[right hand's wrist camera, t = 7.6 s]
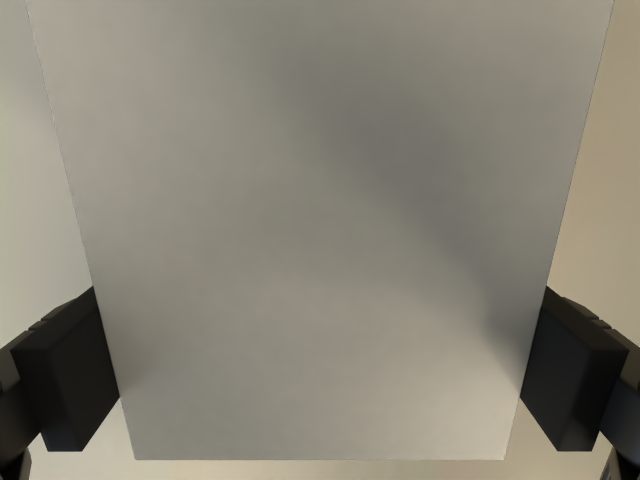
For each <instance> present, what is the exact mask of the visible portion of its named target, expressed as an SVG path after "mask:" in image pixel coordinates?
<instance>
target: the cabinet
mask: <svg viewBox="0 0 640 480" xmlns="http://www.w3.org/2000/svg"><path fill="white" fill-rule="evenodd" d="M25 3H26V7H27V12H28V16H29V20H30V24H31V28H32V32H33V37H34V41H35V45H36V49H37V53H38V57H39V62H40V66H41V70H42V74H43V78H44V82H45V87H46V91H47V95H48V99H49V103H50V107H51V112H52V116H53V120H54V124H55V128H56V132H57V137H58V141H59V145H60V149H61V153H62V157H63V162H64V166H65V170H66V174H67V178H68V182H69V187H70V191H71V195H72V199H73V203H74V207H75V212H76V216H77V220H78V224H79V228H80V232H81V237H82V241H83V245H84V249H85V253H86V257H87V262H88V266H89V270H90V274H91V278H92V282H93V287H94V291H95V295H96V299H97V303H98V307H99V312H100V316H101V320H102V324H103V328H104V332H105V337H106V341H107V345H108V349H109V353H110V357H111V362H112V366H113V370H114V374H115V378H116V382H117V387H118V391H119V395H120V399H121V403H122V407H123V412H124V416H125V420H126V424H127V428H128V432H129V436H130V441H131V445H132V449H133V453H134V457H135V460H504V459H505V455H506V451H507V447H508V443H509V439H510V434H511V430H512V426H513V422H514V418H515V413H516V409H517V405H518V401H519V397H520V393H521V388H522V384H523V380H524V376H525V372H526V368H527V363H528V359H529V355H530V351H531V347H532V343H533V338H534V334H535V330H536V326H537V322H538V317H539V313H540V309H541V305H542V301H543V297H544V292H545V288H546V284H547V280H548V276H549V272H550V267H551V263H552V259H553V255H554V251H555V247H556V242H557V238H558V234H559V230H560V226H561V221H562V217H563V213H564V209H565V205H566V201H567V196H568V192H569V188H570V184H571V180H572V176H573V171H574V167H575V163H576V159H577V155H578V151H579V146H580V142H581V138H582V134H583V130H584V125H585V121H586V117H587V113H588V109H589V105H590V100H591V96H592V92H593V88H594V84H595V80H596V75H597V71H598V67H599V63H600V59H601V55H602V50H603V46H604V42H605V38H606V34H607V29H608V25H609V21H610V17H611V13H612V9H613V4H614V0H25Z"/></svg>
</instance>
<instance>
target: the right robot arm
mask: <svg viewBox="0 0 640 480" xmlns="http://www.w3.org/2000/svg"><path fill="white" fill-rule="evenodd" d="M119 398H120V395H119V391H118V387H117V382H116V378H115V374H114V370H113V366H112V362H111V357H110V353H109V349H108V345H107V341H106V337H105V332H104V328H103V324H102V320H101V316H100V312H99V307H98V303H97V299H96V295H95V291H94V287H93V286H92V287H91V288H89V289H88V290H87V291H85V292H84V293H83V294H82V295H80V296H79V297H78V298H75V299H73V300H71V301H69V302H67V303H65V304H63V305H61V306H59V307H56V308H55V309H54V310H52V311H51V312H50V313H48V314H47V315H45V316H44V317H43V318H41V321H37V322H36V323H35V324H33V325H32V326H31V327H29V328H28V331H24V332H23V333H21V334H20V335H19V336H17V337H16V338H15V339H13V340H12V341H11V342H9V343H8V344H7V345H5V346H4V347H3V348H1V349H0V480H29V475H30V469H31V463H32V461H31V455H30V452H29V450H28V445H29V444H30V443H31V442H32V441H33V440H34V439H35V437H36V436H37V435H38V434H39V433H40V432H41V435H42V437H43V440H44V443H45V445H46V448H47V451H48V452H82V451H83V449H84V448H85V446H86V445H87V444H88V442H89V441H90V439H91V438H92V436H93V435H94V433H95V432H96V431H97V429H98V428H99V426H100V425H101V423H102V422H103V421H104V419H105V418H106V416H107V415H108V413H109V412H110V411H111V409H112V408H113V406H114V405H115V403H116V402H117V401H118V399H119ZM520 398H521V400H522V401H523V402H524V404H525V405H526V407H527V408H528V410H529V411H530V413H531V414H532V415H533V417H534V418H535V420H536V421H537V423H538V424H539V425H540V427H541V428H542V430H543V431H544V433H545V434H546V435H547V437H548V438H549V440H550V441H551V443H552V444H553V446H554V447H555V448H556V450H557V451H592V449H593V447H594V444H595V441H596V439H597V436H598V433H599V431H601V432H602V434H603V435H604V436H605V437H606V438H607V439H608V440H609V442H610V443H611V444H612V445H613V447H612V450H611V452H610V455H609V457H608V460H607V462H606V465H605V467H604V470H603V472H602V475H601V477H600V480H640V348H639V347H638V346H637V345H635V344H634V343H633V342H631V341H630V340H629V339H627V338H626V337H625V336H623V335H622V334H621V333H619V332H618V331H617V330H615V329H612V328H611V326H610V325H608V324H607V323H606V322H604V321H603V320H599V317H598V316H596V315H595V314H594V313H592V312H591V311H590V310H588V309H587V308H586V307H584V306H582V305H580V304H578V303H576V302H574V301H572V300H569V299H567V298H565V297H561V296H559V295H558V294H557V293H555V292H554V291H553V290H552V289H550V288H549V287H548V286H546V288H545V292H544V297H543V301H542V305H541V309H540V313H539V317H538V322H537V326H536V330H535V334H534V338H533V343H532V347H531V351H530V355H529V359H528V363H527V368H526V372H525V376H524V380H523V384H522V388H521V393H520Z"/></svg>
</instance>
